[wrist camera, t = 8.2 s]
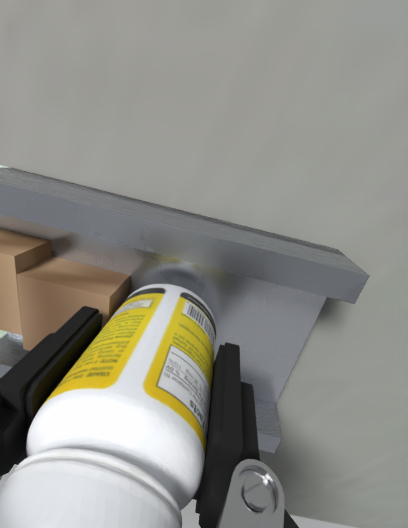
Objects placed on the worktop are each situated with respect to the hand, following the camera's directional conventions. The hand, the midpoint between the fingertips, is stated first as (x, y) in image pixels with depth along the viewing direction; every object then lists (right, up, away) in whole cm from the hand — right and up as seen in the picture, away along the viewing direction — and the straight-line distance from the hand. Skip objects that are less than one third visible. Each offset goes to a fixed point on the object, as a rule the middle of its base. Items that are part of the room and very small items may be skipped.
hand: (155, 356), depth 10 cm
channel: (-1, +2, +4) cm, 4 cm away
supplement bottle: (0, +1, +2) cm, 2 cm away
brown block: (-4, +2, +3) cm, 5 cm away
